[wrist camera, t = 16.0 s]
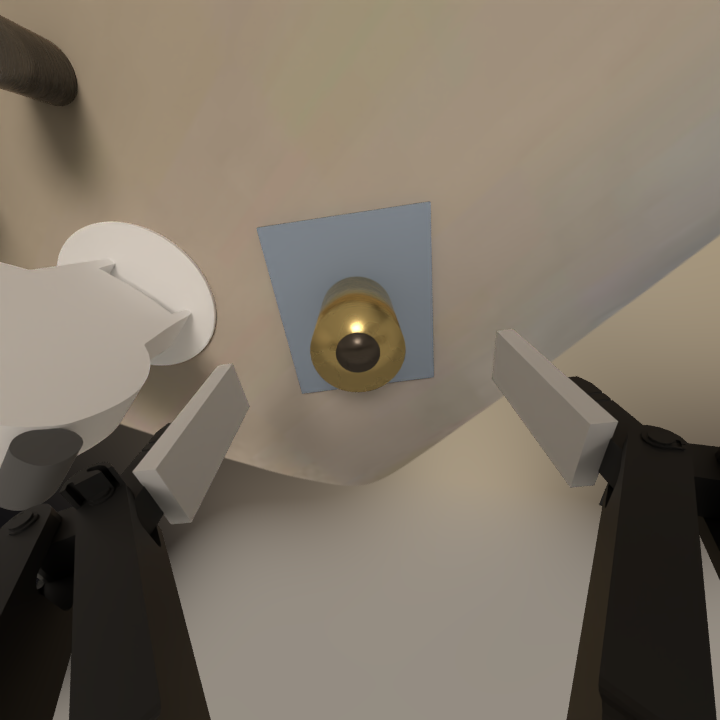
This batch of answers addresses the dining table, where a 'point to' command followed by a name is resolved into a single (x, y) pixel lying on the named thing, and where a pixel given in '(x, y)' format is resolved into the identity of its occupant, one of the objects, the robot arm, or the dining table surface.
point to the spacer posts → (34, 66)
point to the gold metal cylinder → (357, 336)
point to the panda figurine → (88, 346)
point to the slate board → (350, 259)
